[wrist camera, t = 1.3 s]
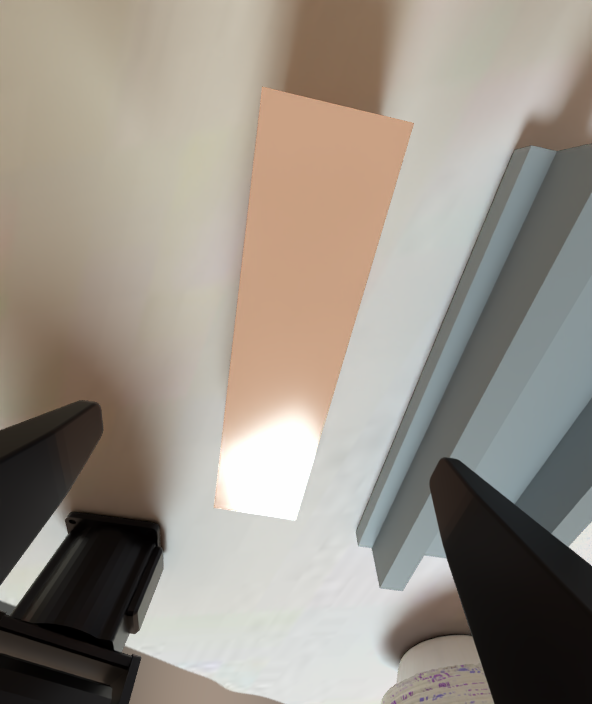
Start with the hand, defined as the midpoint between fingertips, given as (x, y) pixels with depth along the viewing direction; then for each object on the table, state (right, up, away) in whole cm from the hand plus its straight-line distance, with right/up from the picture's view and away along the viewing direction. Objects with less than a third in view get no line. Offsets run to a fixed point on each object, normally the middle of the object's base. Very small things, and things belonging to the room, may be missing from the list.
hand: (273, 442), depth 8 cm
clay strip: (0, +4, +8) cm, 9 cm away
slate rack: (+13, -1, +9) cm, 16 cm away
